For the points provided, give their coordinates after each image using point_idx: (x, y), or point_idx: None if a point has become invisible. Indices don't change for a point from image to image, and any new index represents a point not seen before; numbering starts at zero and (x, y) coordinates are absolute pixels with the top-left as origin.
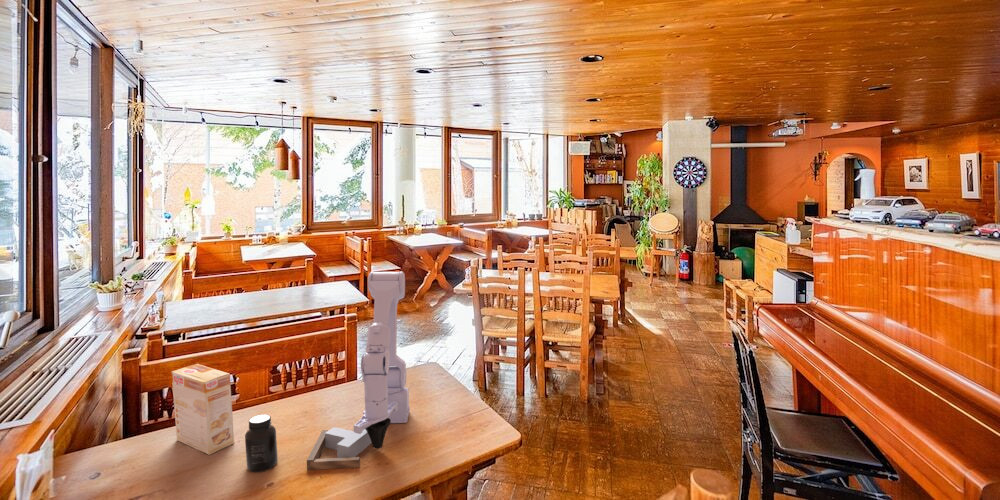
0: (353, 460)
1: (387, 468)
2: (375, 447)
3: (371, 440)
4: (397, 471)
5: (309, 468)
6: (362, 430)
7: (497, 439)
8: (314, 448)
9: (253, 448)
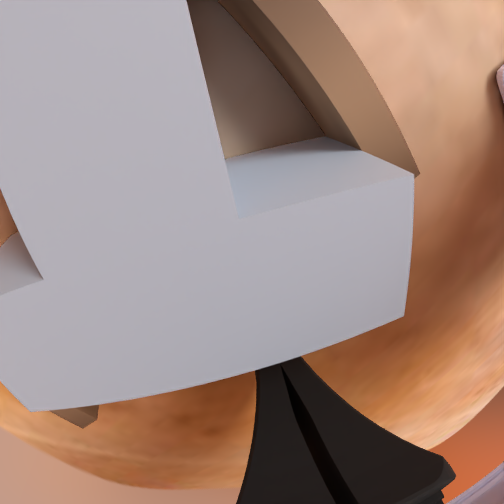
0: (56, 411)
1: (187, 447)
2: (255, 372)
3: (257, 396)
4: (201, 465)
5: None
6: (324, 287)
7: (441, 436)
8: None
9: None
